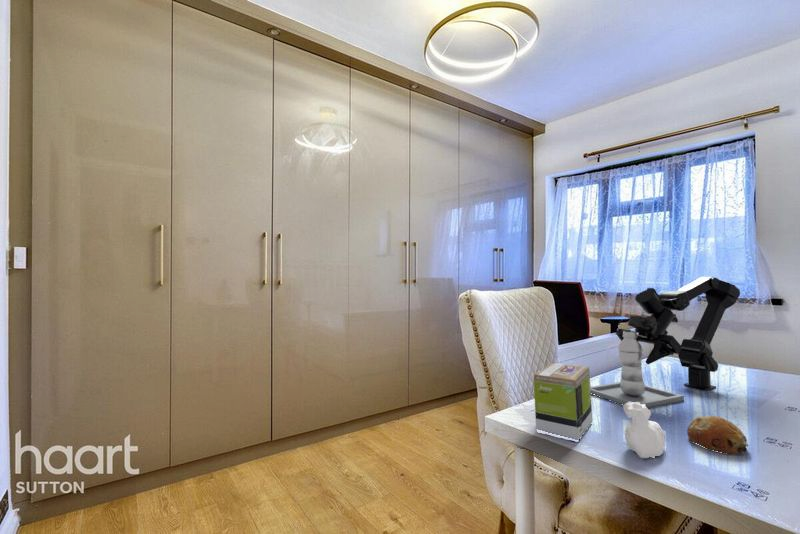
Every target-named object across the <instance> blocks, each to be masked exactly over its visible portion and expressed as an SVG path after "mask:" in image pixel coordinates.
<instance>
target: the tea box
mask: <svg viewBox="0 0 800 534" xmlns="http://www.w3.org/2000/svg"><path fill="white" fill-rule="evenodd" d="M590 373H591V372H590V366H583V365H582V366H581V365H574V364H573V365H572V364H564V363H555V362H551V363H549V364H547V366H544V367H543V368H541V369H540V370H539V371H537V372H536V373H534V374H533V388H534V392H533V394H534V411H535V412H534V413H535V414H534V415H535V430H536V429H538V430H542V431H545V432H548V433H552V434H556V435H560V436H564V437H568V438H572V439H575V440H579V439H580V437H581V436H582V435H583V433H584V432H585V431H586V430H587V431H588V429H589V428H590V427H591V425H592V424H591V423H593V422H592V421H593V407H592V404H593V403H592V395H591V388H590V387H591V377H590V376H591V375H590ZM590 424H591V425H590ZM589 426H590V427H589ZM588 427H589V428H588ZM587 428H588V429H587ZM587 431H586V432H587ZM586 432H585V433H586ZM583 436H584V435H583ZM583 436H582V437H583ZM580 440H581V439H580Z"/></svg>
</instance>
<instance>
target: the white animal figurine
mask: <svg viewBox="0 0 800 534" xmlns="http://www.w3.org/2000/svg"><path fill="white" fill-rule="evenodd" d="M622 406H623V405H622ZM622 408H623V412H624V413H625V415H626V416H627V418H628V419H630V418H631V420H630V422H629V424H627V425H626V428H625V430H624V432H625V433H624V438H625V442H626V446H627V447H628V448H629V449H630V450H631V451H633V452H635V453H636V454H637V456H638V457H639V458H641V459H650V458H649V457H655V456H658V457H659V456H661V455H663V453H664V448H665V446H666V434H665V432H664V431H663V429H662V427H661V426H660V424H659V423H658V422H656V421H654V420H653V421H652V420H649V419H650V417H651V416H652V412H651V410H650V408H649V409H648V408H647V407H646V404H642V405H641V404H640V403H639V402H636V403H635V402H627V403H626V404H624V406H623V407H622Z"/></svg>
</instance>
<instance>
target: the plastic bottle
mask: <svg viewBox="0 0 800 534" xmlns="http://www.w3.org/2000/svg"><path fill="white" fill-rule="evenodd" d="M637 335H638V332H636V331H635V330H631V331H623V337H624V339H623V340H622V341H621V340H620V343H619V344H618V347H617V349H618V353H619V355H620V356H619V359H620V364H621V365H620V366H621V374H620V381H619V382H620V387H621V390H622V392H623V393H625V394H628V395H632V396H641V395H643V394H644V393H645V386H646V384H645V382H644V378H643V377H644V376H643V372H642V361H643V359H642V358H643V352H644V351H643V347H642V345H641V343H640V341H637V340H636V338H637Z"/></svg>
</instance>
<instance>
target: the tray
mask: <svg viewBox="0 0 800 534" xmlns="http://www.w3.org/2000/svg"><path fill="white" fill-rule="evenodd" d="M590 388H591V393H592V394H595V395H598V396H600V397H603V398H605V399H608V400H611V401H613V402H612V403H614V402H616V403H615V404H617V403H619V404H618V405H620V404H623V405H624V404H626V403H627V402H635V403H636V402H639V403H640V404H641V405H642V404H646V407H647V408H649V409H653V408H657V407H663V406H667V405H672V404H676V403H677V404H678V403H682V402H684V401H685V396H684V395H682V394H679V393H674V392H671V391H667V390H664V389H660V388H658V387H652V386H649V385H645V393H644V394H643V395H641V396H632V395H628V394H625V393H623V392H622V390H621V387H620V381H617V382H612V383H606V384H600V385H593V386H590ZM605 399H604V400H605ZM608 400H607V401H608ZM611 401H610V402H611ZM623 405H622V406H623ZM652 407H653V408H652Z"/></svg>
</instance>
